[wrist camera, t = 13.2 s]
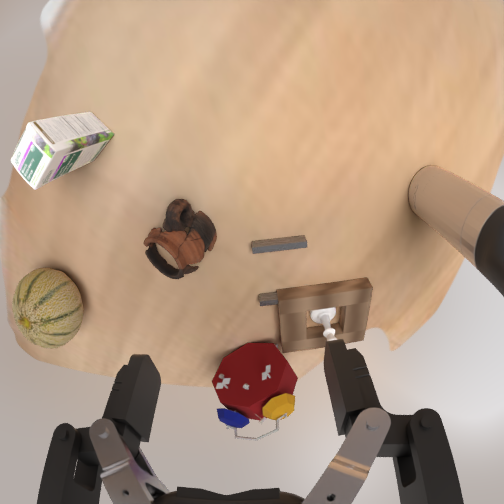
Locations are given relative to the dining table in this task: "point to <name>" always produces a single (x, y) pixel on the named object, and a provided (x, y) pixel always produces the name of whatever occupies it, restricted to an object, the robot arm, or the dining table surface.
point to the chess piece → (325, 321)
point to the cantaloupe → (47, 308)
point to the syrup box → (58, 146)
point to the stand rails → (276, 245)
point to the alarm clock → (254, 386)
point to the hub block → (322, 297)
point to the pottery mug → (181, 239)
